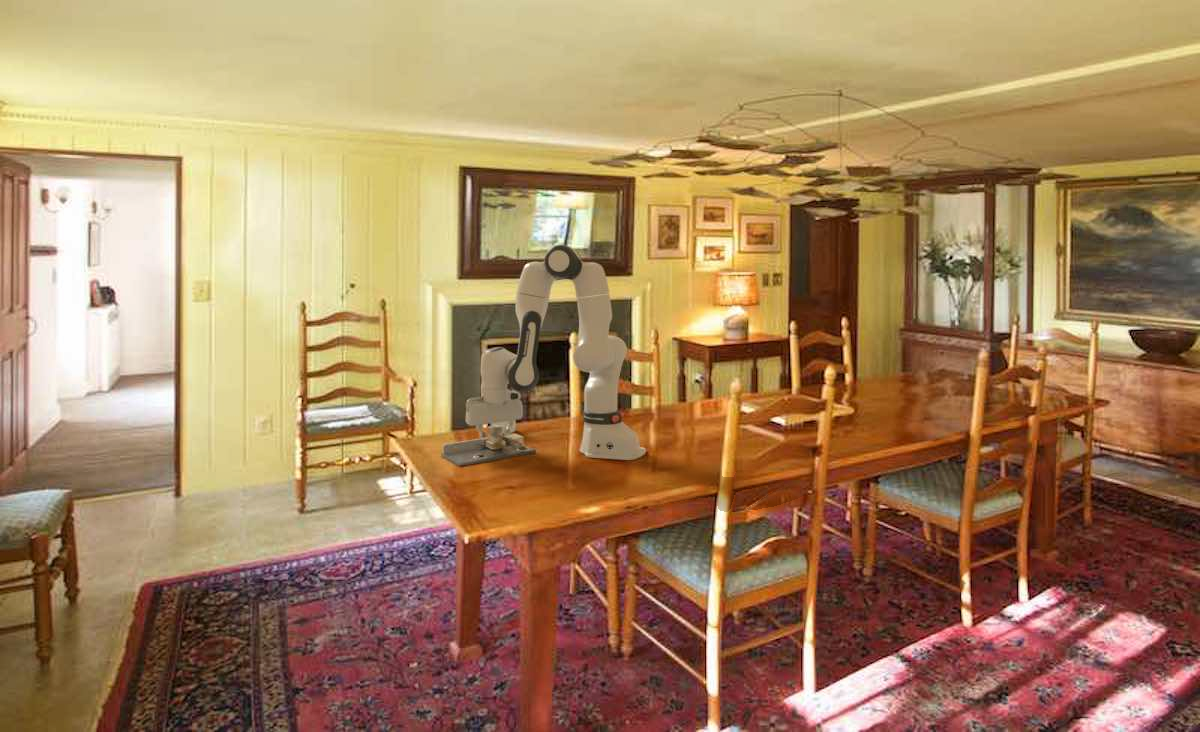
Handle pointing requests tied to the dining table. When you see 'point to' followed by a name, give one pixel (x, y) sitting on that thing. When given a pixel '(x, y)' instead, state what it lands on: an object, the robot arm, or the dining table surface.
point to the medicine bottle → (504, 425)
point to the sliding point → (495, 438)
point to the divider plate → (484, 450)
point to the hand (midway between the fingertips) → (494, 435)
